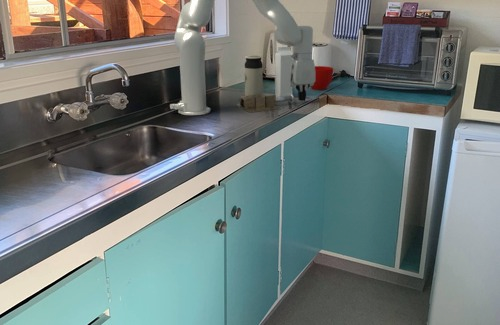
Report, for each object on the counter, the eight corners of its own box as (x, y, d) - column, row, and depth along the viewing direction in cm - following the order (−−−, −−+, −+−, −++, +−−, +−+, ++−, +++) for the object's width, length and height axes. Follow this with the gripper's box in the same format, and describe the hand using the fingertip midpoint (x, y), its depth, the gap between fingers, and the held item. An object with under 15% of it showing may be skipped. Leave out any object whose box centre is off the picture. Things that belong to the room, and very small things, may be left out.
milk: (274, 95, 229) (274, 46, 222) (286, 94, 231) (287, 45, 224) (280, 98, 224) (280, 47, 217) (292, 97, 226) (293, 47, 219)
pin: (260, 106, 206) (260, 98, 205) (257, 104, 208) (257, 96, 207) (294, 102, 212) (294, 94, 211) (290, 100, 215) (290, 93, 214)
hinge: (249, 112, 199) (249, 100, 197) (236, 106, 210) (235, 94, 208) (280, 108, 204) (280, 96, 203) (266, 102, 215) (266, 91, 214)
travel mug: (263, 94, 231) (263, 55, 225) (261, 98, 224) (261, 57, 218) (246, 94, 232) (245, 55, 226) (244, 98, 224) (243, 57, 219)
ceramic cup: (293, 88, 245) (293, 67, 242) (322, 85, 252) (323, 65, 249) (307, 93, 234) (307, 71, 231) (337, 89, 241) (338, 68, 238)
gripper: (291, 58, 203) (291, 103, 209) (323, 56, 209) (321, 100, 215) (282, 56, 209) (282, 100, 215) (313, 54, 215) (312, 96, 221)
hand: (301, 100), depth 215 cm, fingers closed
